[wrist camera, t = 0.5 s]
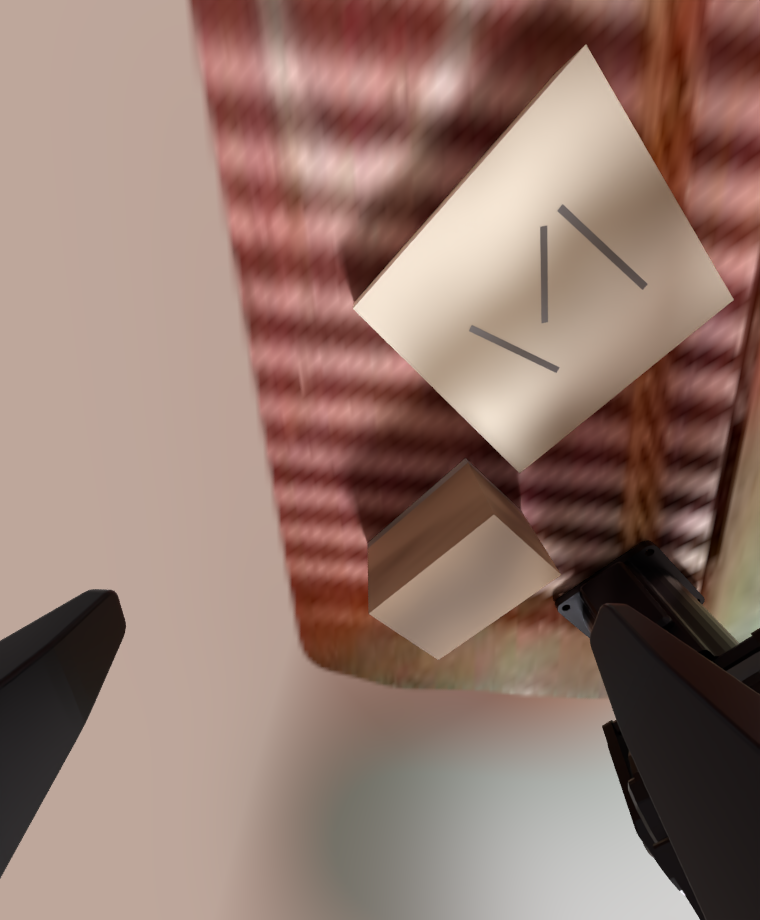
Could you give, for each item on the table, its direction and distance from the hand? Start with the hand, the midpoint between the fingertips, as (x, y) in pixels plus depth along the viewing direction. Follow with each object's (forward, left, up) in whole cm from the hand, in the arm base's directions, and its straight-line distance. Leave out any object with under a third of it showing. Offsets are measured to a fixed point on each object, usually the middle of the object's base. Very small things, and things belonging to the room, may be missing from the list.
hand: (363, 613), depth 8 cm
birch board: (-2, -8, -12) cm, 15 cm away
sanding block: (-8, +2, -12) cm, 15 cm away
